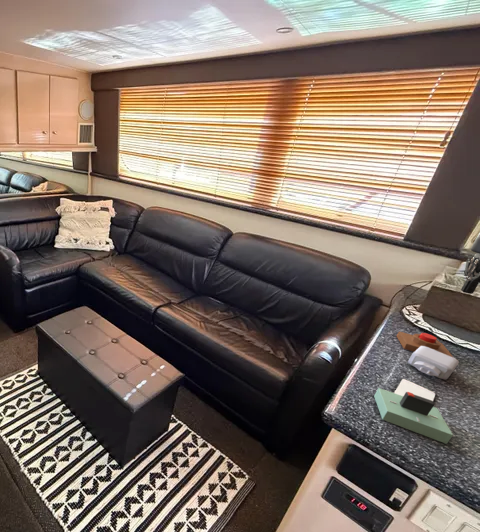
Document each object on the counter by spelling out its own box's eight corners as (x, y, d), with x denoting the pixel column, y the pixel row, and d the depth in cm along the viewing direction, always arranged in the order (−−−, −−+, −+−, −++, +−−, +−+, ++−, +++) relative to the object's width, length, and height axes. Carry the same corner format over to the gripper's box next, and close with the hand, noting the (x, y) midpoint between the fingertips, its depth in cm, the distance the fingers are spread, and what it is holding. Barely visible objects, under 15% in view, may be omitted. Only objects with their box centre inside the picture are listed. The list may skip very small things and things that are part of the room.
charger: (400, 368, 102) (414, 355, 110) (440, 387, 95) (452, 372, 103) (407, 357, 100) (421, 344, 108) (449, 375, 93) (460, 360, 101)
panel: (431, 416, 84) (437, 407, 83) (446, 444, 76) (453, 434, 75) (373, 395, 89) (378, 387, 88) (382, 419, 81) (387, 410, 80)
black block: (424, 411, 81) (432, 399, 79) (427, 416, 80) (435, 403, 78) (399, 402, 83) (406, 391, 82) (401, 406, 82) (408, 394, 80)
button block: (439, 348, 116) (444, 339, 115) (450, 362, 108) (456, 352, 107) (396, 336, 122) (401, 327, 120) (403, 348, 114) (409, 339, 112)
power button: (432, 339, 114) (434, 335, 113) (436, 344, 111) (438, 340, 110) (417, 335, 116) (419, 331, 115) (420, 340, 113) (423, 336, 112)
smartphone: (436, 393, 92) (427, 415, 84) (434, 395, 92) (426, 417, 84) (402, 378, 98) (391, 397, 89) (401, 380, 98) (390, 399, 89)
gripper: (530, 246, 85) (494, 303, 91) (504, 237, 95) (474, 288, 102) (489, 240, 88) (457, 296, 95) (468, 231, 99) (441, 282, 105)
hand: (466, 292), depth 98 cm, fingers closed
